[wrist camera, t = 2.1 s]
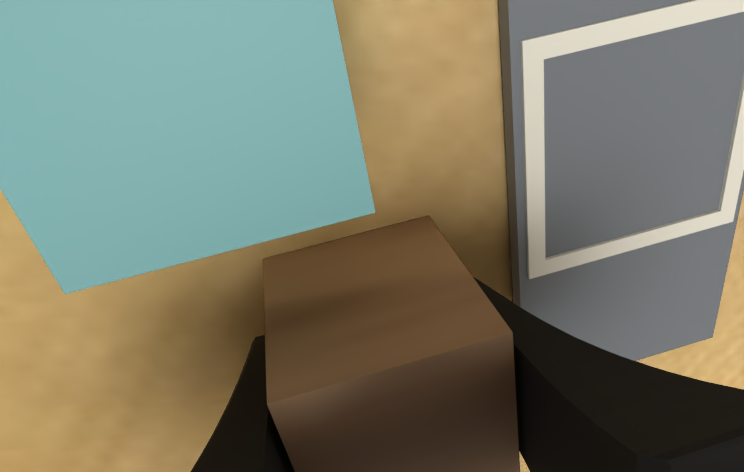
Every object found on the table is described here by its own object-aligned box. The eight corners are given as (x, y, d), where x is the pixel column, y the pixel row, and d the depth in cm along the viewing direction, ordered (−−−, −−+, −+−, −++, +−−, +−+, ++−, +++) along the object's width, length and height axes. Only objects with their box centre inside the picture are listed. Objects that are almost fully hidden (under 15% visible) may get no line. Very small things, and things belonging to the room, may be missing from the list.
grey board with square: (701, 328, 18) (715, 339, 17) (517, 384, 17) (525, 396, 16) (820, -290, 10) (852, -304, 9) (487, -229, 9) (501, -242, 9)
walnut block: (446, 341, 15) (520, 484, 11) (305, 382, 15) (326, 547, 11) (428, 215, 13) (512, 332, 9) (263, 259, 13) (266, 404, 8)
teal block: (330, 124, 12) (375, 212, 7) (138, 171, 11) (64, 294, 7) (279, -104, 9) (298, -171, 5) (36, -56, 9) (-165, -83, 5)
